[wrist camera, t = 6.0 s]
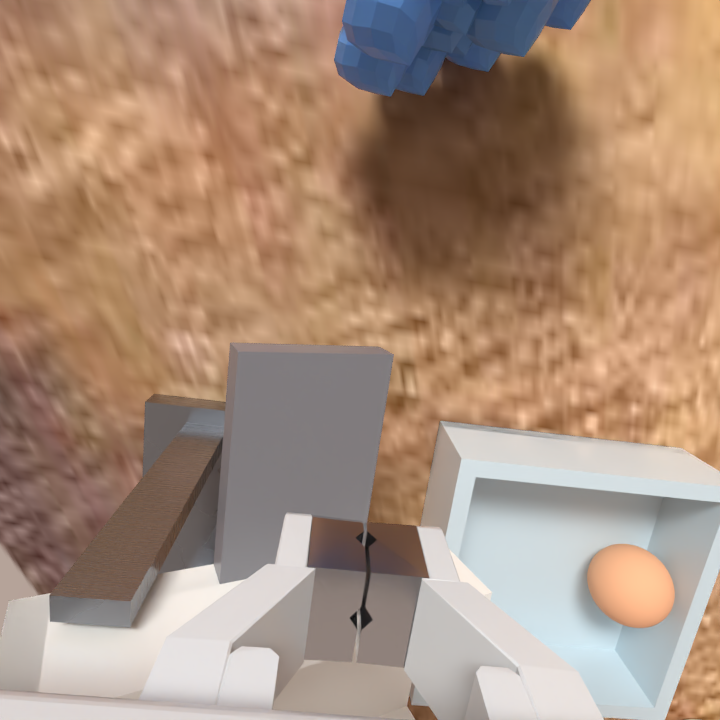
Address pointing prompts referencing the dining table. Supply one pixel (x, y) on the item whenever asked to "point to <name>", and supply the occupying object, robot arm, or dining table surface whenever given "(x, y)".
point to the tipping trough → (245, 532)
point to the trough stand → (152, 517)
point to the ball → (630, 585)
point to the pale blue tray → (580, 546)
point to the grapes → (438, 37)
